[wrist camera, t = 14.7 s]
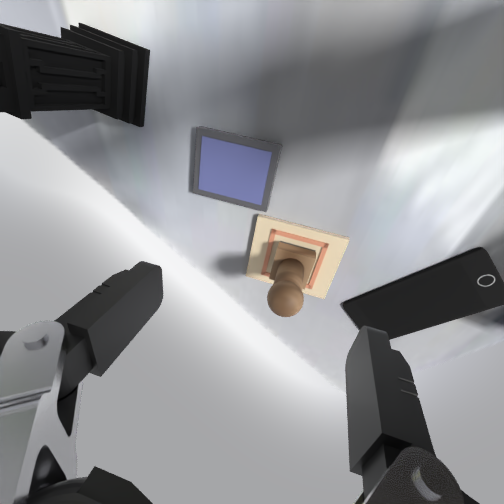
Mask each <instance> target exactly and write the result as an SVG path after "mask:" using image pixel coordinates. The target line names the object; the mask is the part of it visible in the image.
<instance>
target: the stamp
mask: <svg viewBox="0 0 504 504" xmlns="http://www.w3.org/2000/svg"><path fill="white" fill-rule="evenodd" d="M315 251H316V250H312V249H309V248H305V247H302V246H298V245H294V244H291V243H287V242H284V241H280V242H279V244H278V247H277V251H276V254H275V258H274V262H273V265H272V269H271V273H270V276H269V279H271V280H274V284H273V286H272V287H271V288H270V290H269V292H268V296H267V301H268V305H269V307H270V309H271V310H272V311H273V312H274V313H275V314H277V315H279V316H282V317H290V316H293V315H295V314H296V313H298V312H299V311H300V309H301V308H302V305H303V301H304V297H303V293H302V289H304V290H305V287H306V284H307V282H308V279H309V276H310V274H311V271H312V268H313V266H314V263H315V260H316V252H315Z"/></svg>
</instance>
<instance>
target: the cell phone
mask: <svg viewBox="0 0 504 504" xmlns="http://www.w3.org/2000/svg"><path fill="white" fill-rule="evenodd" d="M501 305H504V282H503V280H502V278H501V277H500V275H499V273H498V271H497V269H496V267H495V265H494V263H493V262H492V260H491V258H490V256H489V254H488V252H487V251H486V250H485V249H484V248H482V247H478V248H476V249H473V250H471V251H468V252H466V253H464V254H461V255H459V256H456V257H454V258H451V259H449V260H446V261H444V262H441V263H439V264H437V265H434V266H432V267H429V268H427V269H424V270H422V271H419V272H417V273H414V274H412V275H410V276H407V277H405V278H402V279H400V280H397V281H395V282H392V283H390V284H387V285H385V286H383V287H380V288H378V289H375V290H373V291H370V292H368V293H365V294H363V295H360V296H358V297H356V298H353V299H351V300H348V301H346V302H344V303H343V307H344V309H345V310H346V312H347V313H348V314H349V315H350V317H351V318H352V319H353V321H354V322H355V323H356V325H357V326H358V327H359V328H360V329H361V328H362V327H363V326H367V327H371V328H374V329H378V330H381V331H385V332H386V333H387V334H388V337H389V340H390V339H393V338H397V337H400V336H403V335H406V334H410V333H413V332H416V331H419V330H423V329H426V328H429V327H432V326H436V325H439V324H442V323H446V322H449V321H452V320H455V319H459V318H462V317H465V316H468V315H472V314H475V313H478V312H481V311H485V310H488V309H491V308H495V307H498V306H501Z"/></svg>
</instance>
